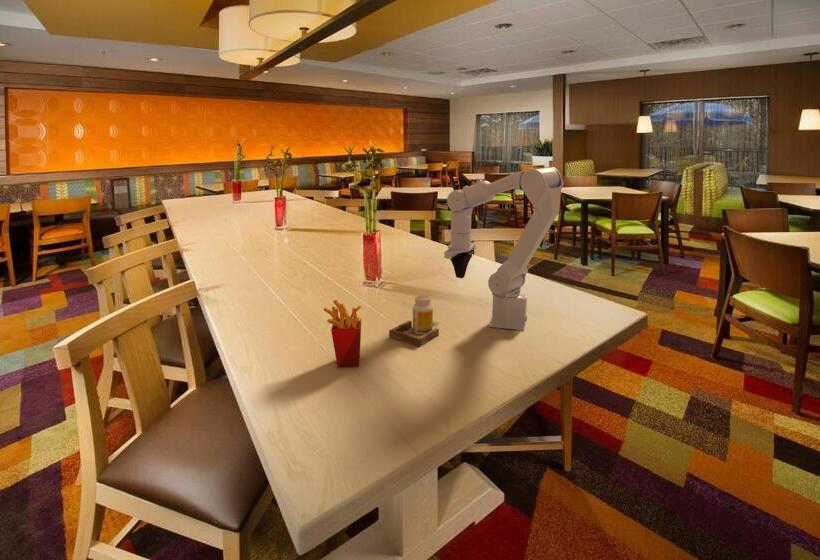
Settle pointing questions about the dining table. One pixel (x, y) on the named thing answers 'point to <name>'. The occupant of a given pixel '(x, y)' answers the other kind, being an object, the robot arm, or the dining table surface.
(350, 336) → the french fries
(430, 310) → the supplement bottle
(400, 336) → the brown wooden u-shaped frame
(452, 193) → the robot arm
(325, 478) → the dining table surface
